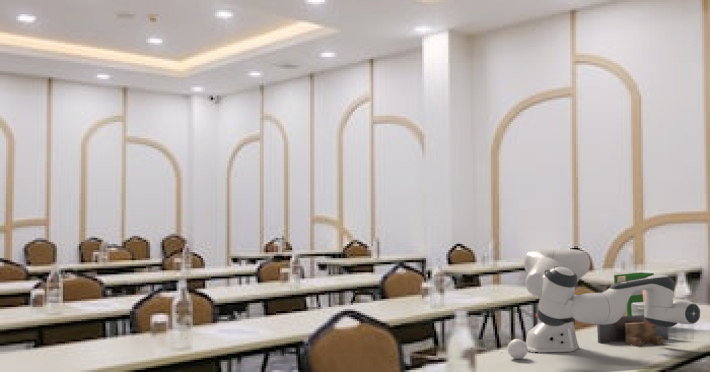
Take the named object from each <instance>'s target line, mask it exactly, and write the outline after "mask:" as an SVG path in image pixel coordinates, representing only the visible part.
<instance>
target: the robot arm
mask: <svg viewBox="0 0 710 372" xmlns="http://www.w3.org/2000/svg"><path fill="white" fill-rule="evenodd" d="M523 267H524V270H525V272H526V273H527V275H526V278H525V282H524V283H525V288H526V290H527V292H528V293H529V294H531V295H532V296H535V297H539V301H538V306H537V307H536V313H535V317H536V318H538V319H539V322H538V323H537V324H536V325H535V326H534V327H532V328H531V329H530V330H528V332H527V334H526V339H525V343H526V345H527V348H528V351H527V352H529V351H530V352H531V353H535V352H538V353H561V352H562V353H563V352H565V353H566V352H574V351H575V350H578V349H579V348H580V345H579V343H578V342H579V341H578V339H577V335H576V327H575V325H576V321H577V322H579V323H580V322H581V323H583V324H590V325H597V324H599V325H605V324H613V323H615V322H617V321H618V320H619V319H620V318H621V317H622V316H623V314H624V312H625V309H626V306H627V303H628V300H629V298H630V296H631V295H632V293H634V292H636V291H641V290H645V302H635V303H632V304H631V309H632V312H635V313H641V314H644V318H645V319H646V320H647V321H648V322H649V323H650V324H654V325H657V326H662V327H668V328H672V327H675V326H676V325H677V324H681V325H682V324H683V325H695V324H696V323H697V322H699V320H700V317H701V309H700V307H699V305H698V304H697V303H695V302H693V301H690V300H689V299H688V298H684V297H683V298H678V297H674V295H675V294H674V293H675V288H676V283H675V281H674V280H673V279H672V278H671V276H669V275H666V274H661V273H660V274H659V273H658V274H654V275H652V276H648V277H644V278H639V279H633V280H628V281H623V282H618V283H612V284H611V285H610V286H609V288H608V289H606V290H605V291H603V292H589V293H588V292H587V293H582V294H578V295H577V294H575V291H576V287H577V285H578V282H579V281H580V280H581V278H583V277H584V276H585V275H587V273H588V272H589V269H590V267H591V262H590V257H589V255H588V254H587V253H586V252H585V251H584V250H578V249H573V248H564V249H563V248H561V249H559V248H557V249H555V248H553V249H536V250H532V251H531V250H530V251H528V252H527V253H526V254H525V256H524V259H523Z"/></svg>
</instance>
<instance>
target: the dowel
mask: <svg viewBox="0 0 710 372" xmlns="http://www.w3.org/2000/svg"><path fill="white" fill-rule="evenodd" d="M643 302H645V290H643ZM644 323H645V326H655V325H654V324H650V323H649V322H648V321H647V320H646V319H645V318H644Z"/></svg>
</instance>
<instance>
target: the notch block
mask: <svg viewBox="0 0 710 372" xmlns="http://www.w3.org/2000/svg"><path fill="white" fill-rule="evenodd" d="M625 332H626V341H625V344H627V345H630V346H633V347H642V346H643V344H652V345H657V346H659V345H660V346H661V345H664V339H663V337H662V336H658V335H656V326H645V323H644V322H640V323H625Z"/></svg>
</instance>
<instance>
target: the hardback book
mask: <svg viewBox="0 0 710 372" xmlns="http://www.w3.org/2000/svg"><path fill="white" fill-rule="evenodd" d="M652 275H655V274H654V273H653V272H643V271H642V272H640V271H639V272H632V273H631V272H629V273H623V274H622V273H621V274H613V280H614V281H613V282H614V283H618V282H623V281H628V280H633V279H639V278H644V277H648V276H652ZM614 283H613V284H614ZM635 302H643V290H641V291H636V292H634V293H632V295H631V296H630V298H629V300H628V303H627V306H626V309H625V312H624V314H623V316H632V309H631V304H632V303H635Z"/></svg>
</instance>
